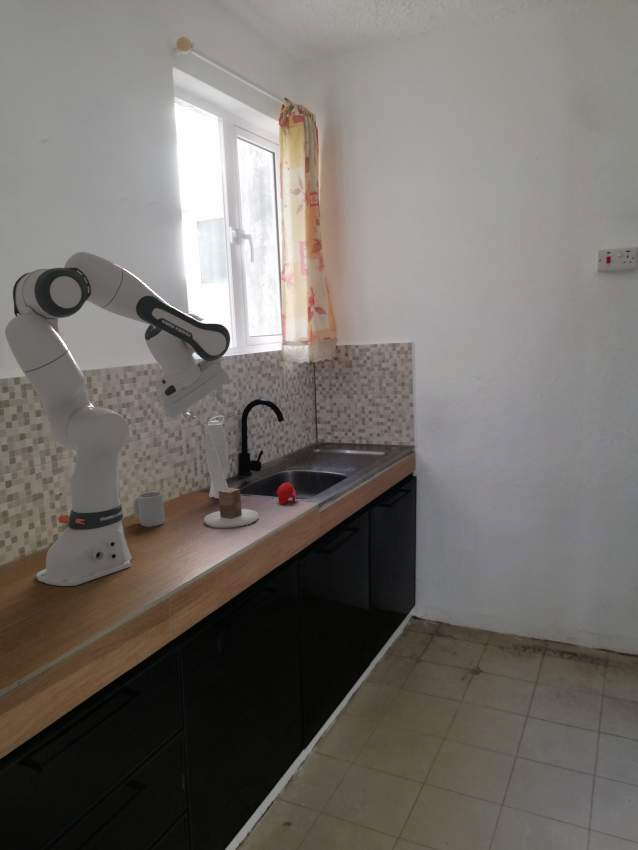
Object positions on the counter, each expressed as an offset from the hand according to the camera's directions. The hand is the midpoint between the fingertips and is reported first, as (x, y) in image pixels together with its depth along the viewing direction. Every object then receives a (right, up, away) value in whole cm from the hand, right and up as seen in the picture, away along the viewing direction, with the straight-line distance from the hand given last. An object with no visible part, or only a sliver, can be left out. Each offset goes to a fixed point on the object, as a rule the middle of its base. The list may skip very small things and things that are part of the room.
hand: (206, 409), depth 181 cm
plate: (+6, -33, +8) cm, 35 cm away
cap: (+22, -30, +26) cm, 45 cm away
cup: (-19, -34, +8) cm, 40 cm away
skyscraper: (-2, -30, +37) cm, 48 cm away
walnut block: (+6, -32, +7) cm, 33 cm away
